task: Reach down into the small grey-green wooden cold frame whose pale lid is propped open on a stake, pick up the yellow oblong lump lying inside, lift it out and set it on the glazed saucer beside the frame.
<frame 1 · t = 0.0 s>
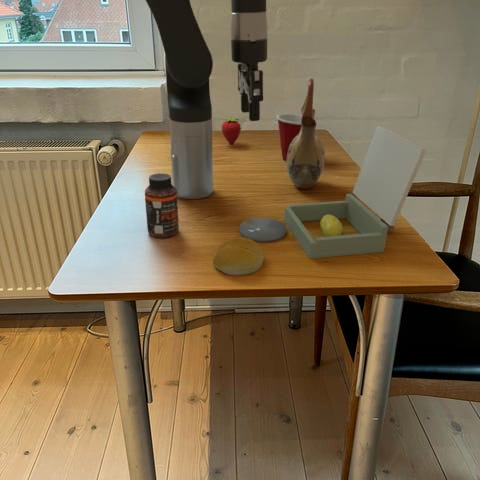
hand: (250, 116, 102), 17 cm above the table, tool pointing down, fingers open, 8 cm apart
supplement bottle: (163, 233, 89), on the table
yellow oblong lump: (330, 236, 88), resting in cold frame
cold frame: (330, 235, 88), on the table
lid: (385, 173, 84), point 12 cm above the table, hinge at 104.0°
ceramic vessel: (303, 186, 112), on the table
saucer: (262, 231, 89), on the table
strawberry: (231, 146, 144), on the table
prop stake: (386, 230, 90), on the table
plastic cup: (293, 160, 131), on the table
bread roll: (238, 264, 79), on the table
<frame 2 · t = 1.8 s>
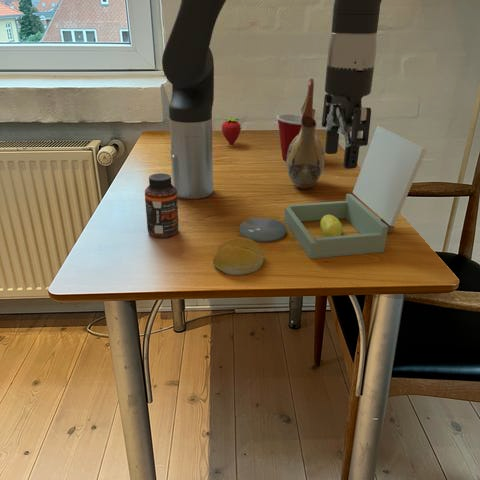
hand: (340, 160, 82), 15 cm above the table, tool pointing down, fingers open, 8 cm apart
nothing on the table moved.
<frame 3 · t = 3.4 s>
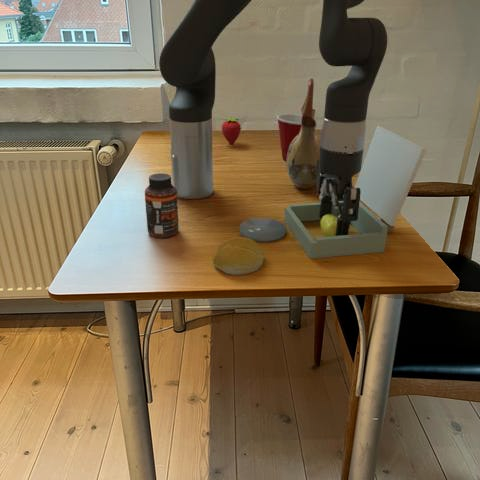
hand: (332, 228, 88), 2 cm above the table, tool pointing down, fingers closed on yellow oblong lump, 8 cm apart
yellow oblong lump: (330, 236, 88), resting in cold frame, touching gripper
everything else where it was.
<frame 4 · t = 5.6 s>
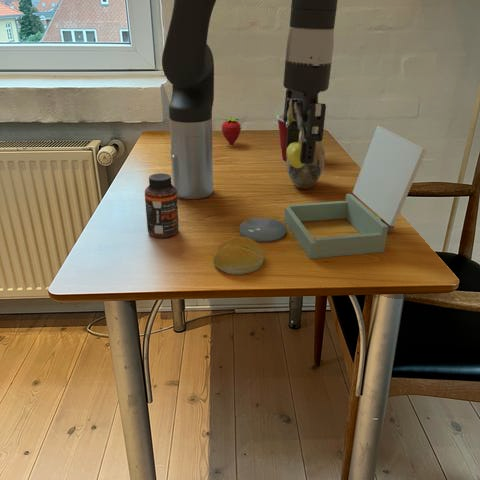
hand: (298, 155, 82), 15 cm above the table, tool pointing down, fingers closed on yellow oblong lump, 8 cm apart
yellow oblong lump: (296, 165, 83), point 14 cm above the table, touching gripper
everything else where it was.
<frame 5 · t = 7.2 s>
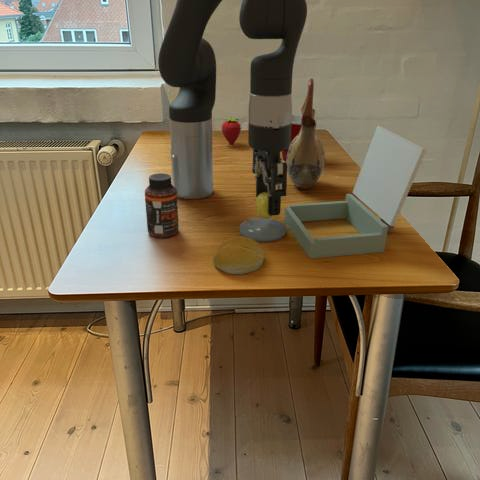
hand: (267, 206, 87), 5 cm above the table, tool pointing down, fingers closed on yellow oblong lump, 8 cm apart
yellow oblong lump: (266, 214, 88), point 3 cm above the table, touching gripper
everything else where it was.
when the fingers open (4 cm above the table, at t = 8.1 s): yellow oblong lump drops 1 cm, resting on saucer.
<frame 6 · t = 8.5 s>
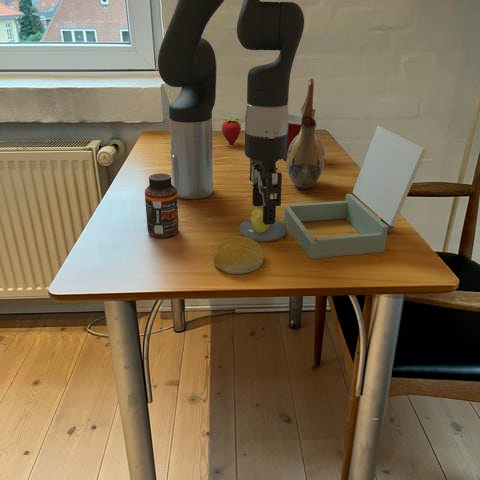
hand: (263, 214, 88), 4 cm above the table, tool pointing down, fingers open, 8 cm apart
yellow oblong lump: (261, 228, 89), point 1 cm above the table, touching saucer
everything else where it was.
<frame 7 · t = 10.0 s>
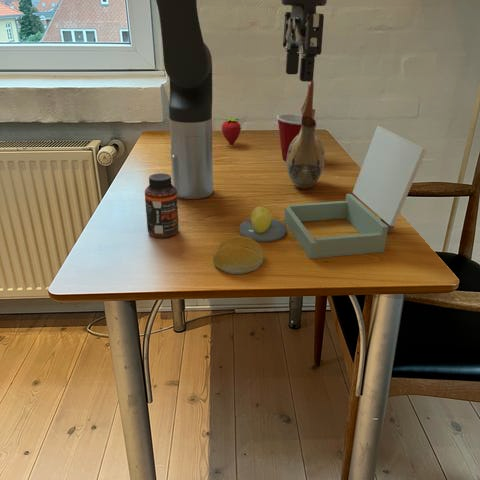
hand: (298, 77, 82), 28 cm above the table, tool pointing down, fingers open, 8 cm apart
nothing on the table moved.
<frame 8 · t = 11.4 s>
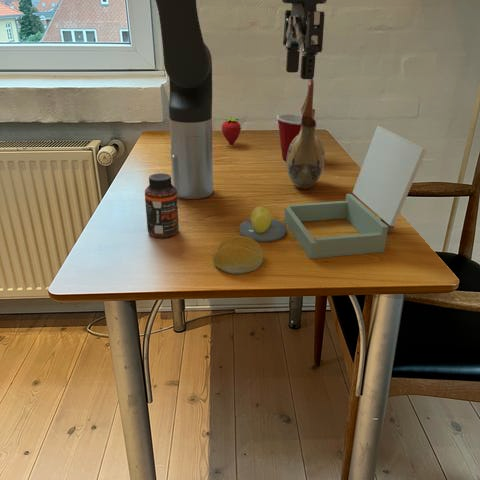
hand: (299, 75, 82), 28 cm above the table, tool pointing down, fingers open, 8 cm apart
nothing on the table moved.
at the end: yellow oblong lump 0.3 cm from the saucer (horizontally); yellow oblong lump point 0.6 cm above the table; the gripper is holding nothing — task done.
